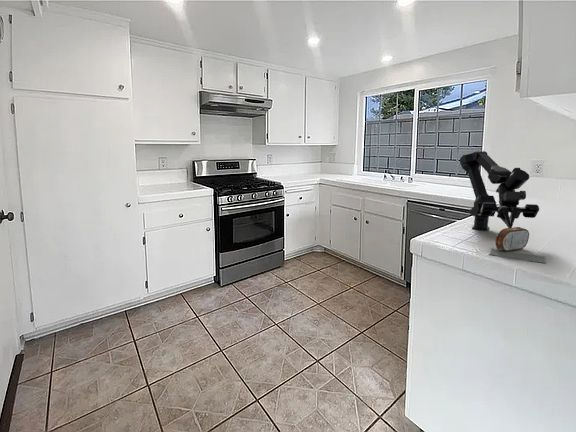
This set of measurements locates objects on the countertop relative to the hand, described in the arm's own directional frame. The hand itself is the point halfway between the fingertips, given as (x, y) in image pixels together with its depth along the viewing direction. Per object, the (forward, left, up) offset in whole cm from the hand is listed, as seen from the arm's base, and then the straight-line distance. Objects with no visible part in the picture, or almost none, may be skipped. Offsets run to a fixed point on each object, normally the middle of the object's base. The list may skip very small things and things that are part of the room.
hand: (510, 227), depth 125 cm
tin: (+6, +1, -7) cm, 9 cm away
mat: (+12, +3, -7) cm, 14 cm away
